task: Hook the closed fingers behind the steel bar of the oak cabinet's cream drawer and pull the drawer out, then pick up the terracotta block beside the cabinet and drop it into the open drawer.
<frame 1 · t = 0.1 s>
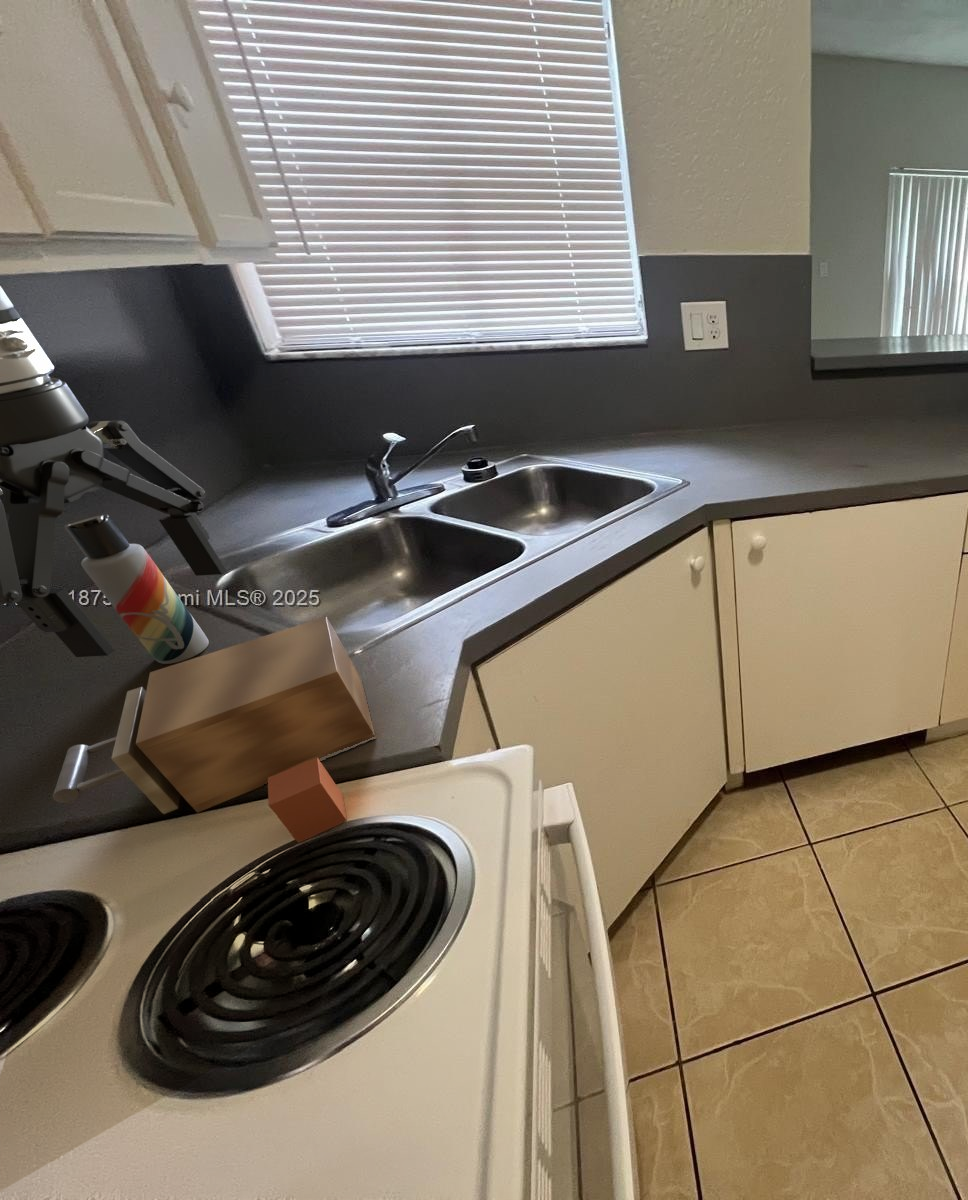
hand: (159, 610, 61), 18 cm above the worktop, tool pointing down, fingers open, 13 cm apart
drawer: (200, 731, 65), point 5 cm above the worktop, slide at 1.0 cm
block: (321, 818, 61), on the worktop
cabinet: (289, 738, 70), on the worktop
lotion bottle: (184, 652, 85), on the worktop
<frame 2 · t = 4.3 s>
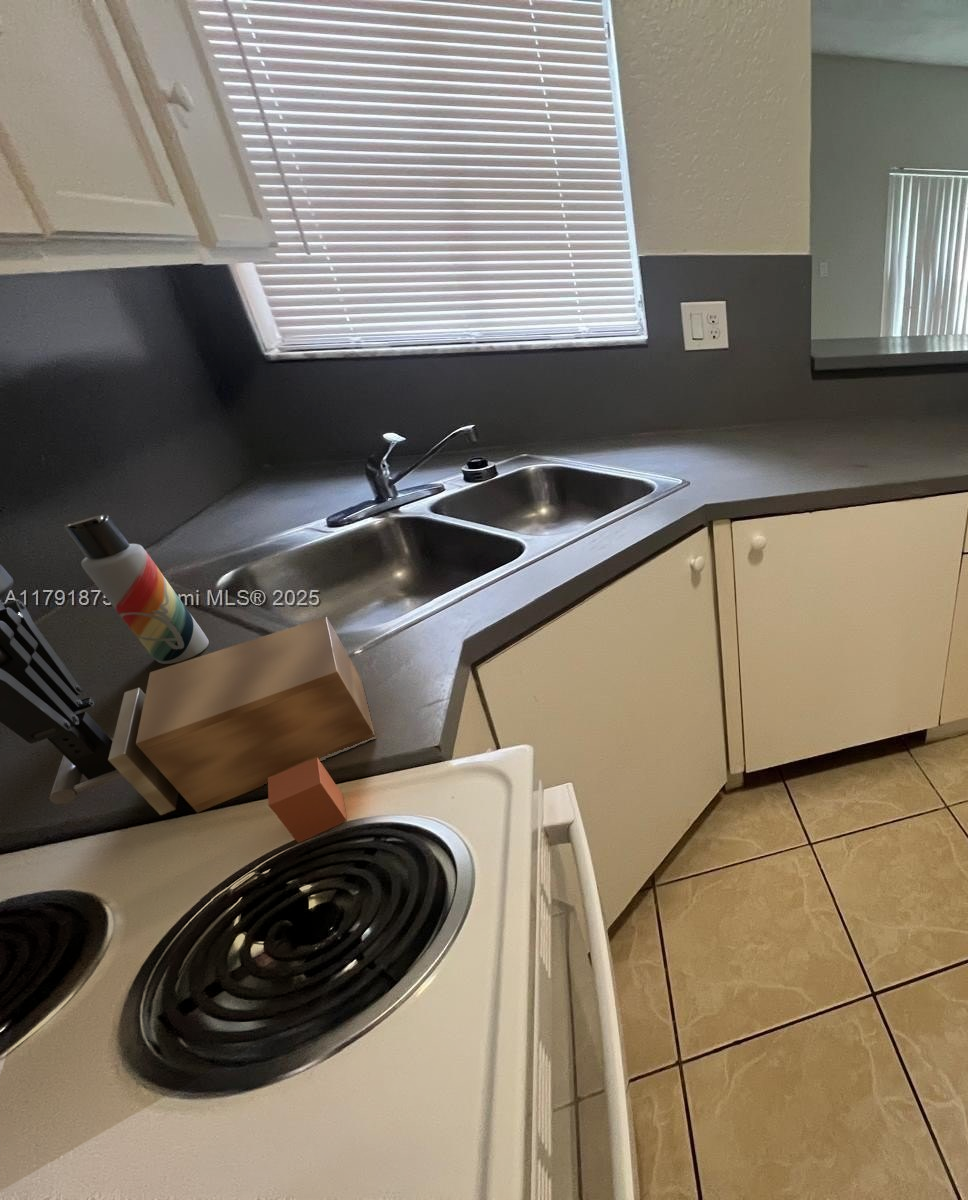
hand: (109, 769, 61), 4 cm above the worktop, tool pointing down, fingers closed
drawer: (197, 732, 65), point 5 cm above the worktop, slide at 1.2 cm, touching gripper
everything else where it was.
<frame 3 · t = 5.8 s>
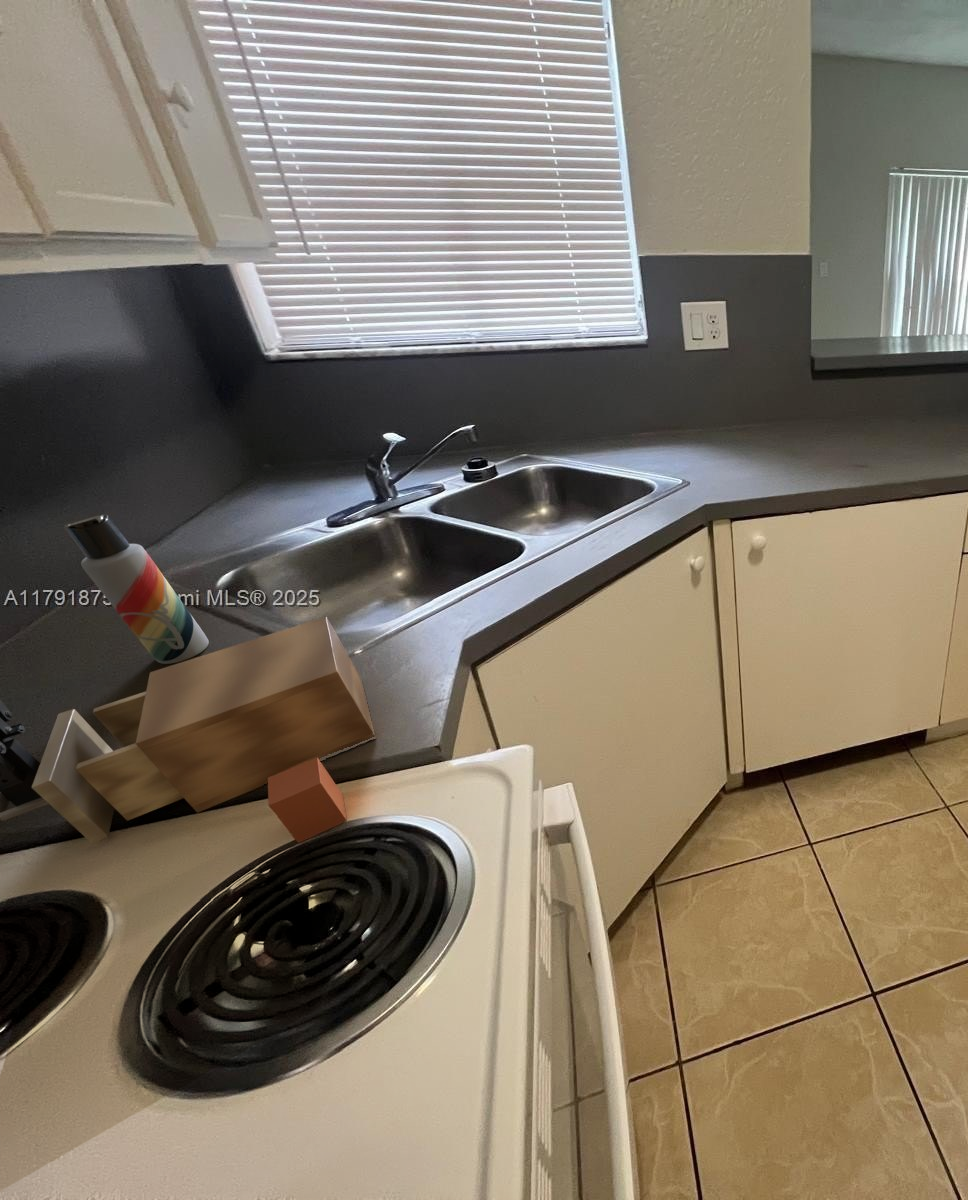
hand: (42, 798, 59), 4 cm above the worktop, tool pointing down, fingers closed
drawer: (134, 754, 62), point 5 cm above the worktop, slide at 6.2 cm, touching gripper
everything else where it was.
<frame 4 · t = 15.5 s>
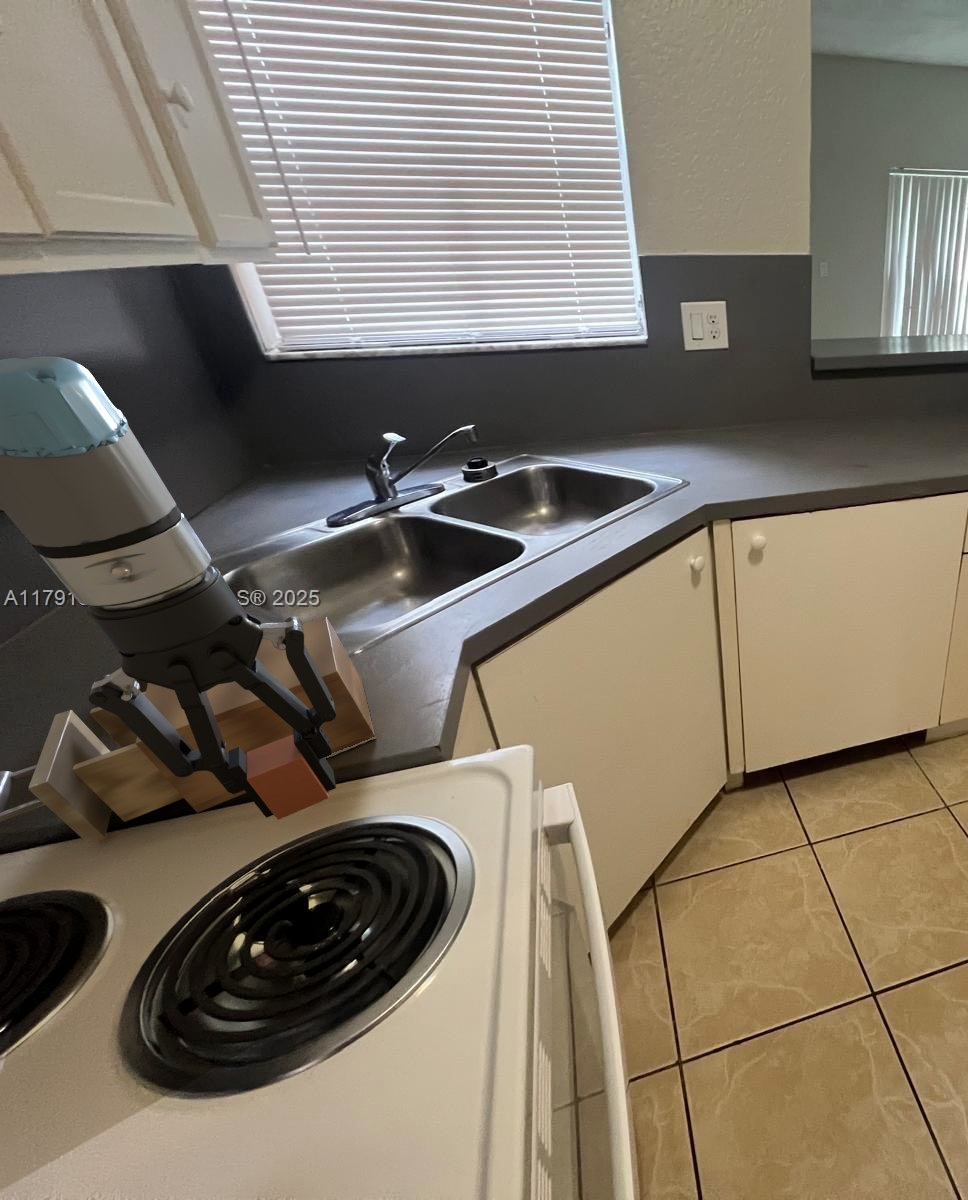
hand: (300, 793, 59), 4 cm above the worktop, tool pointing down, fingers closed on block, 4 cm apart
drawer: (131, 755, 62), point 5 cm above the worktop, slide at 6.4 cm
block: (302, 795, 59), point 3 cm above the worktop, touching gripper
everything else where it was.
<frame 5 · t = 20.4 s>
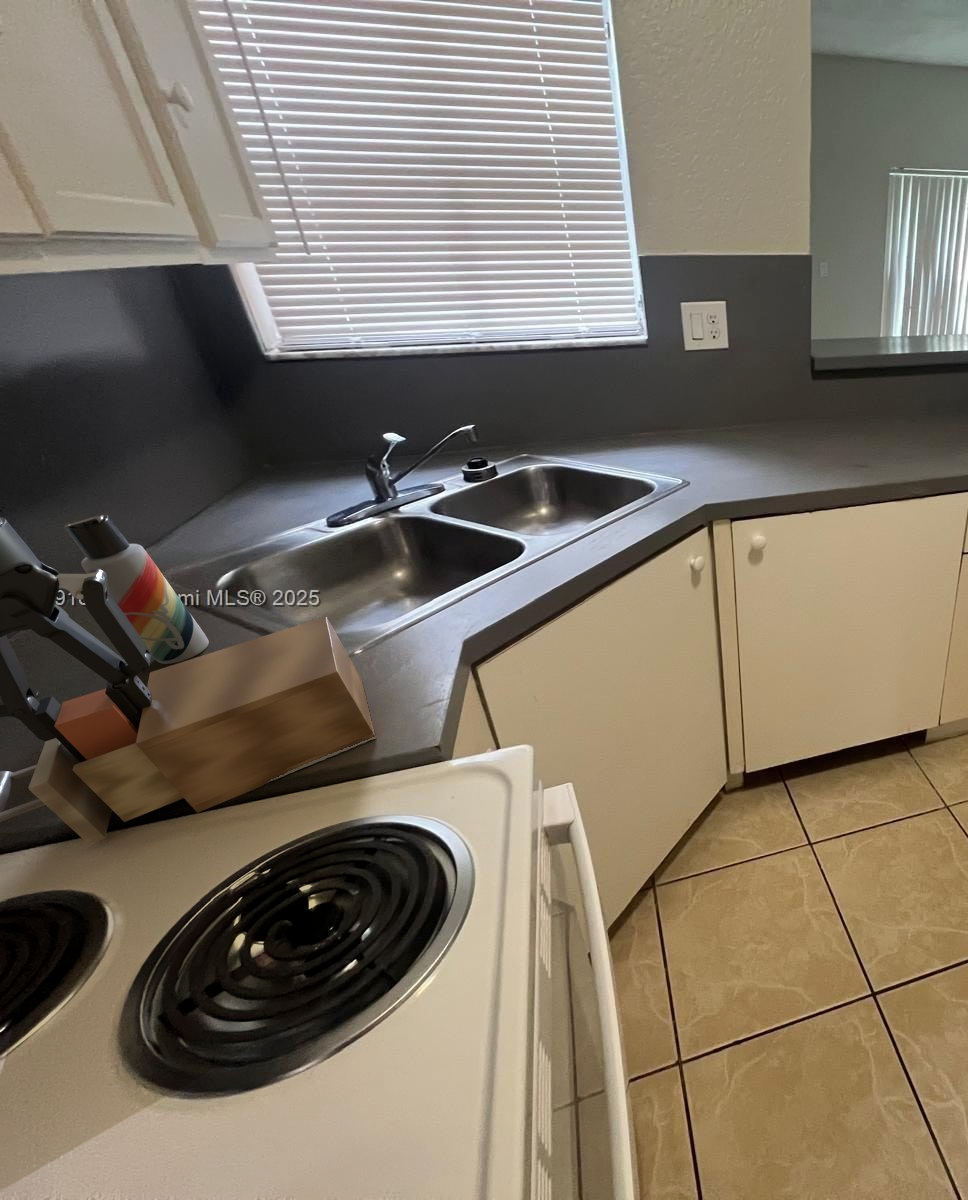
hand: (123, 743, 61), 7 cm above the worktop, tool pointing down, fingers closed on block, 4 cm apart
block: (125, 745, 61), point 6 cm above the worktop, touching gripper
everything else where it was.
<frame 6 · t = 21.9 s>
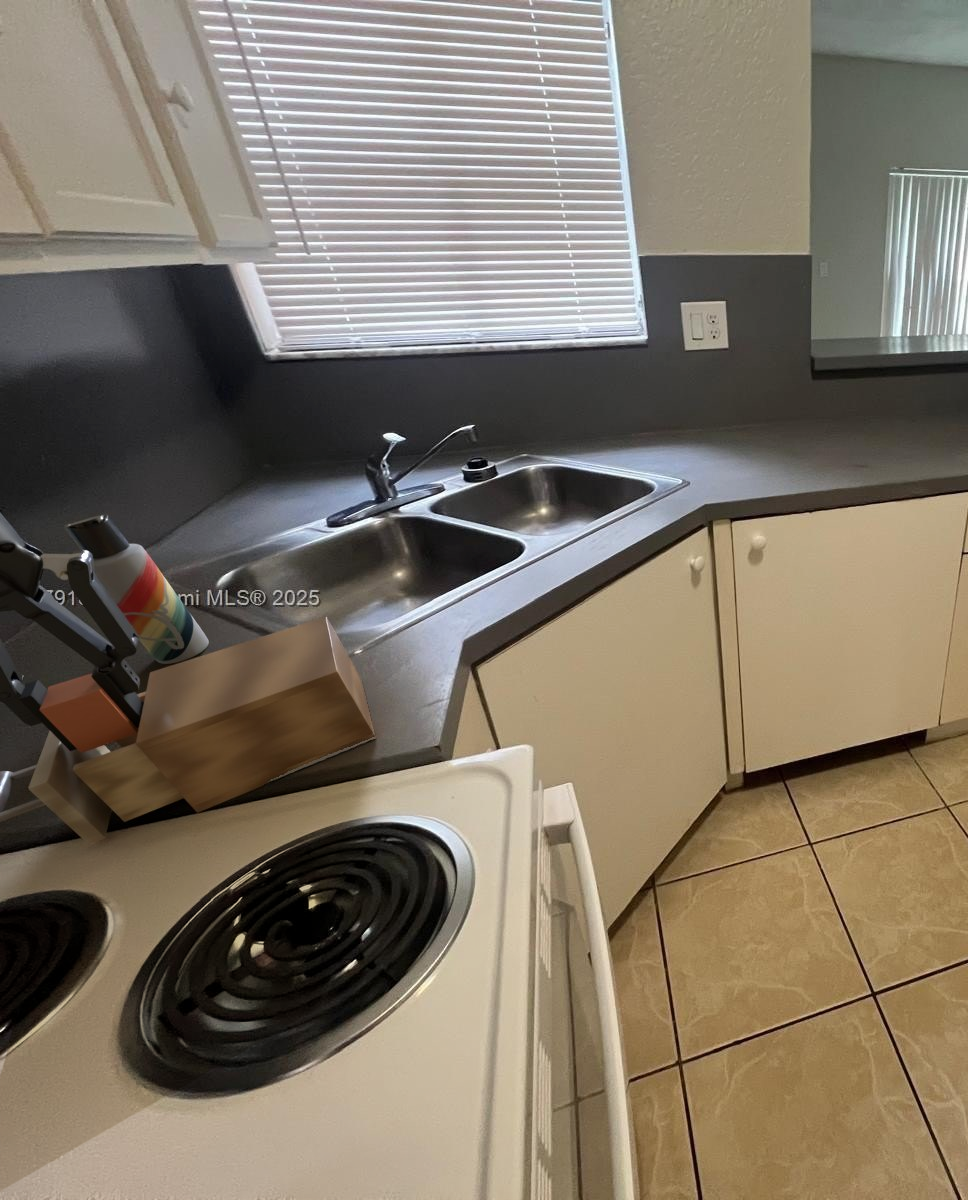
hand: (110, 729, 60), 8 cm above the worktop, tool pointing down, fingers closed on block, 4 cm apart
block: (113, 731, 60), point 8 cm above the worktop, touching gripper
everything else where it was.
when the fingers open (9 cm above the worktop, at t = 28.5 s): block drops 3 cm, point 6 cm above the worktop.
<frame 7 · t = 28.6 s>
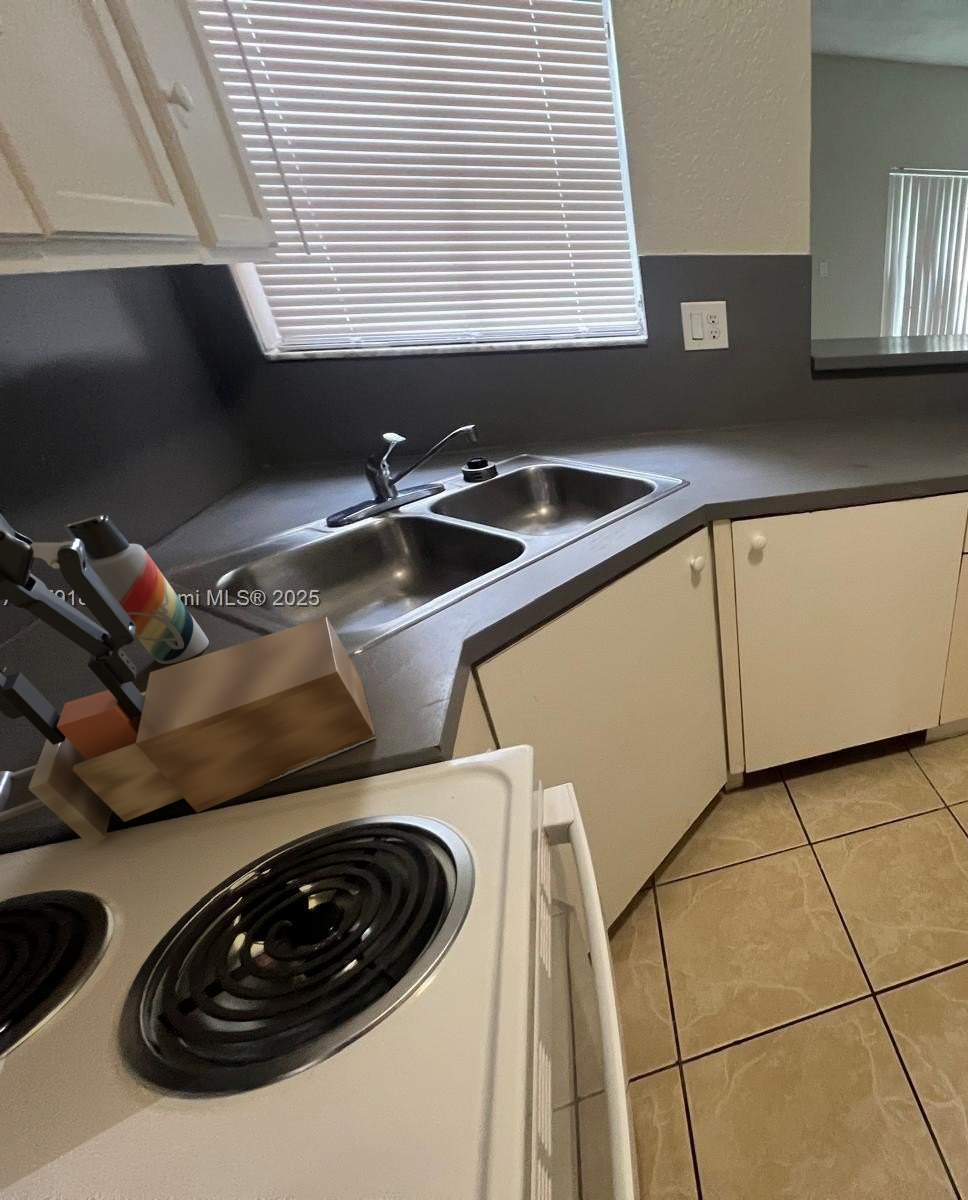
hand: (101, 720, 59), 10 cm above the worktop, tool pointing down, fingers open, 5 cm apart
block: (125, 747, 61), point 6 cm above the worktop
everything else where it was.
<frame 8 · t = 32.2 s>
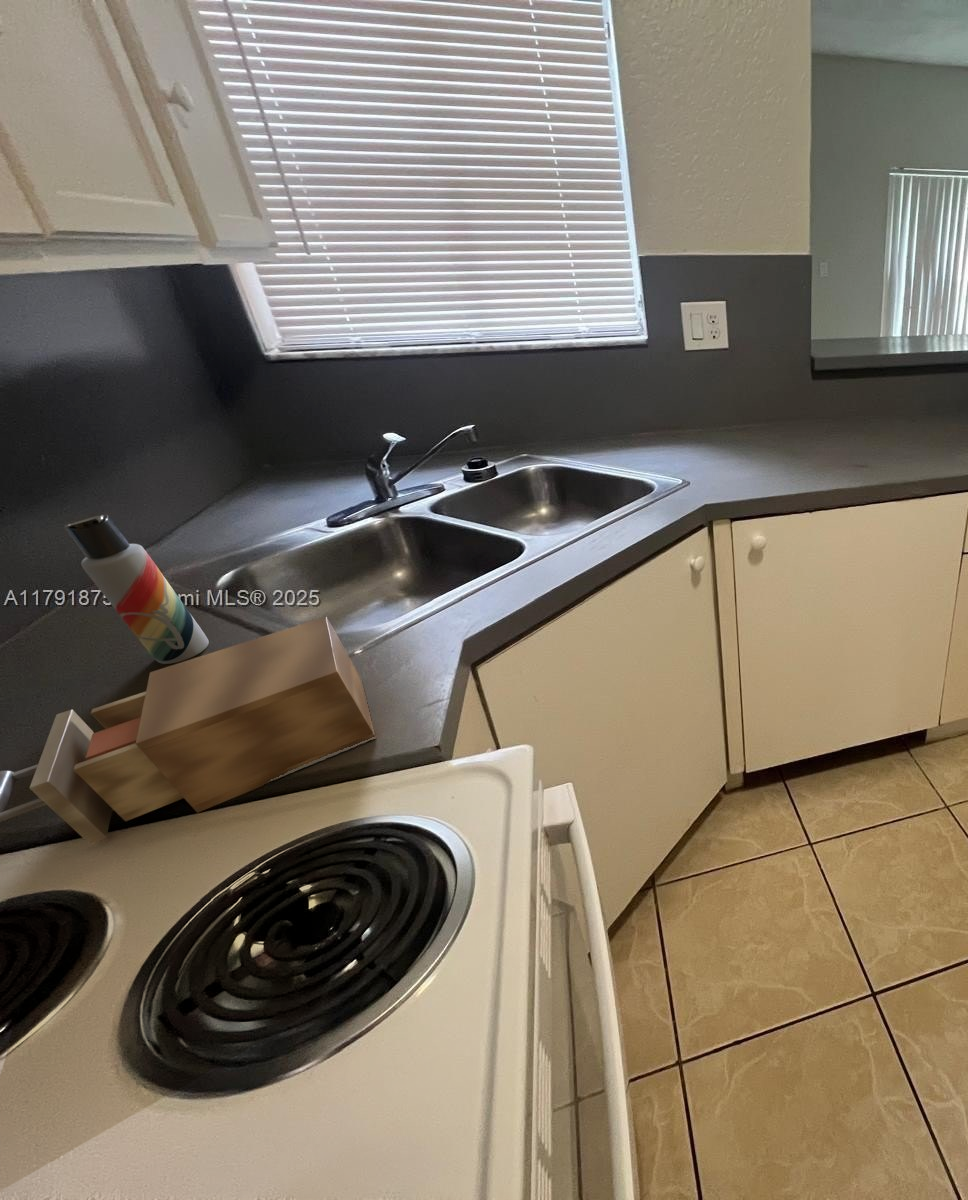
drawer: (132, 755, 62), point 5 cm above the worktop, slide at 6.3 cm, touching block
block: (151, 774, 64), point 2 cm above the worktop, touching drawer
everything else where it was.
at the end: drawer slide at 6.3 cm; block 0.1 cm from the target spot in the drawer, point 2.1 cm above the cabinet's base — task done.
